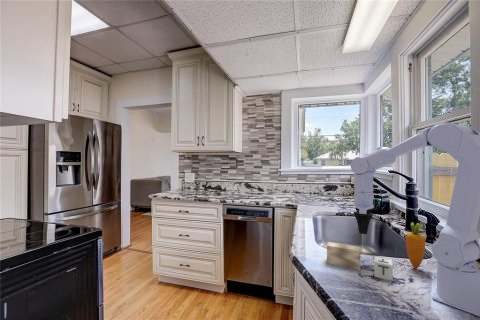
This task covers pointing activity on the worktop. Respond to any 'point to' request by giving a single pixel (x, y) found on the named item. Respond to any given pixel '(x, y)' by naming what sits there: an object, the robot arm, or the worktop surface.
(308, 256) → the worktop surface
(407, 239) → the carrot
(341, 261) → the beech block
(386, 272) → the lettered cube
